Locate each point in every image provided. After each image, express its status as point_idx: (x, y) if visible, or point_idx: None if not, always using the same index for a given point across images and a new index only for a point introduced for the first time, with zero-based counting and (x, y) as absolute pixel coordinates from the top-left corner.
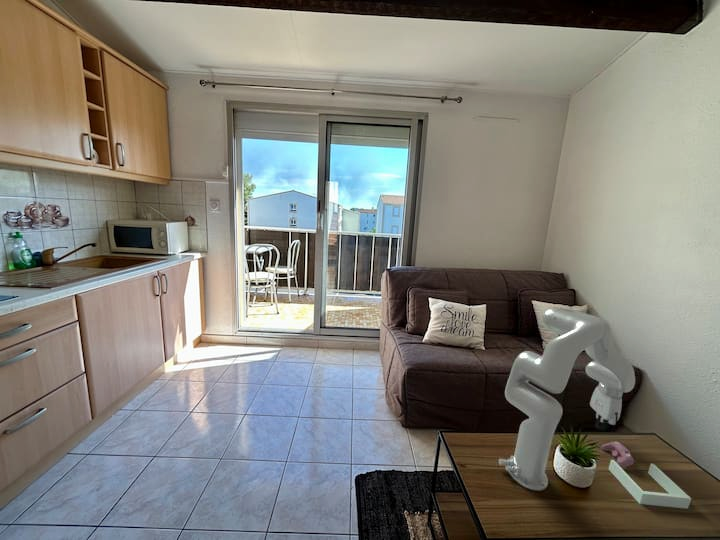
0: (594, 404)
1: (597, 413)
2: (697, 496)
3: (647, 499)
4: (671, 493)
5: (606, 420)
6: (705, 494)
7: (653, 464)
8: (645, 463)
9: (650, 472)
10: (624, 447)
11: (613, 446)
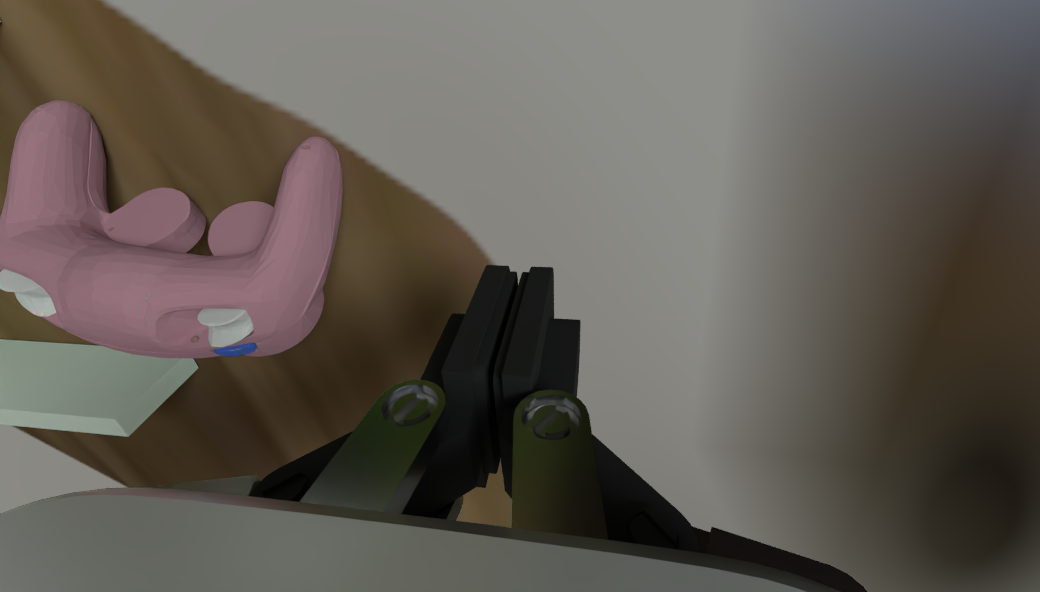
0: None
1: (557, 497)
2: (138, 463)
3: None
4: (14, 350)
5: (275, 493)
6: None
7: (117, 431)
8: (300, 405)
9: (158, 365)
10: (118, 339)
11: (233, 256)
